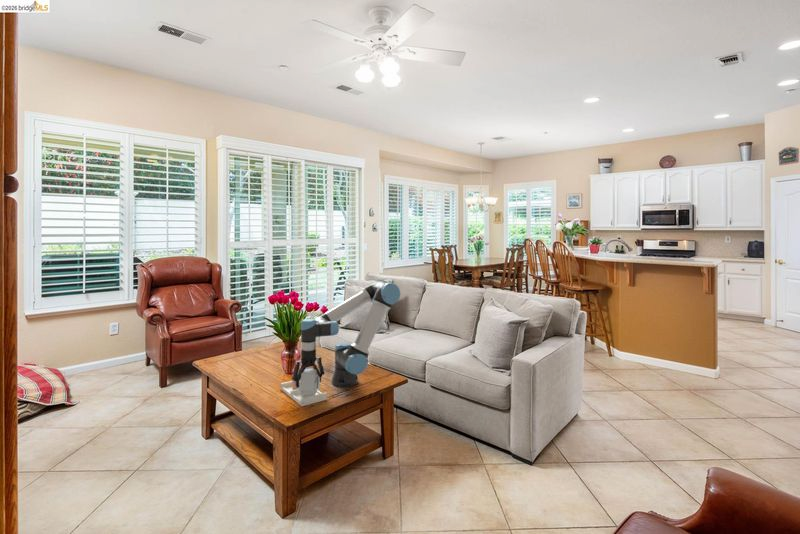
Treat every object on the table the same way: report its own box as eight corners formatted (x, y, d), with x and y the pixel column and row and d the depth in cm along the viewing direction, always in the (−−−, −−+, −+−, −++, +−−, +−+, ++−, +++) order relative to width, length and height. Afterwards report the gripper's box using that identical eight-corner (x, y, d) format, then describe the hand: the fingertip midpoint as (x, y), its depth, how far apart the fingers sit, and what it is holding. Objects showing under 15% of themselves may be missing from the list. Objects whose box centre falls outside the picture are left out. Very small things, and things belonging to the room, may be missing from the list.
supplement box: (314, 396, 204) (314, 372, 203) (300, 396, 204) (300, 372, 203) (317, 391, 212) (317, 368, 210) (303, 391, 211) (303, 368, 210)
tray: (304, 383, 228) (304, 368, 227) (326, 399, 207) (326, 382, 206) (280, 389, 219) (280, 373, 219) (301, 406, 198) (301, 388, 198)
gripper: (324, 343, 216) (324, 383, 218) (284, 350, 202) (285, 393, 204) (331, 347, 210) (331, 387, 212) (290, 354, 196) (291, 398, 198)
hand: (308, 390), depth 208 cm, fingers closed on supplement box, 10 cm apart
